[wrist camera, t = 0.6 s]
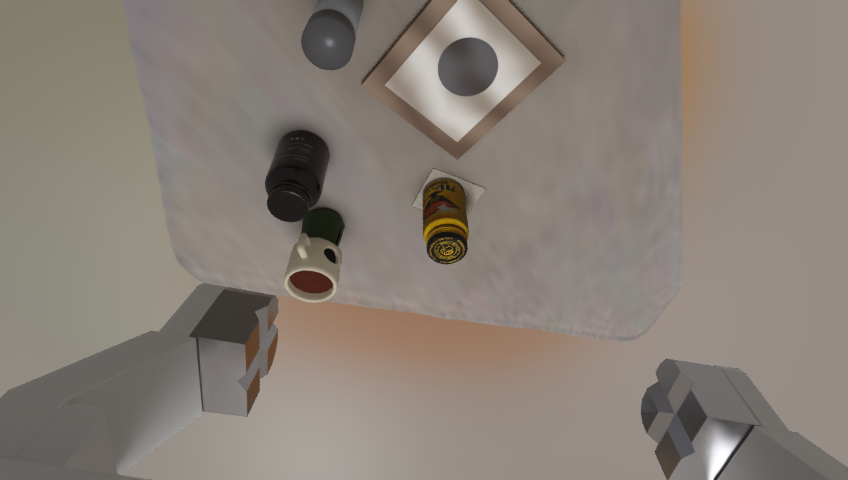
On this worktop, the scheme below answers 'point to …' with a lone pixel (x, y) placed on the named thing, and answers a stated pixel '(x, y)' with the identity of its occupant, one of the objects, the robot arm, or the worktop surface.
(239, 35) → the worktop surface
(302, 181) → the supplement bottle
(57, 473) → the robot arm
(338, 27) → the grey cylinder
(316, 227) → the character mug
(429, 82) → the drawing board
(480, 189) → the condiment
